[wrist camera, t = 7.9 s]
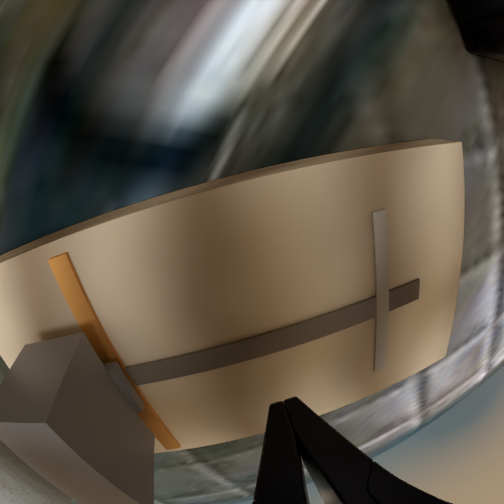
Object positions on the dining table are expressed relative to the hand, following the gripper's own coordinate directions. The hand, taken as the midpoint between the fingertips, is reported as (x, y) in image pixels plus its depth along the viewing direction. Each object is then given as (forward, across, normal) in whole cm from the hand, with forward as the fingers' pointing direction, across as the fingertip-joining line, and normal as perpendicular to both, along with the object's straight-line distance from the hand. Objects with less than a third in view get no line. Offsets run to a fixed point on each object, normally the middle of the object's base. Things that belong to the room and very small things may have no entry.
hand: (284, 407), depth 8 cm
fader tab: (+3, +7, 0) cm, 8 cm away
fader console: (+5, +1, 0) cm, 5 cm away
